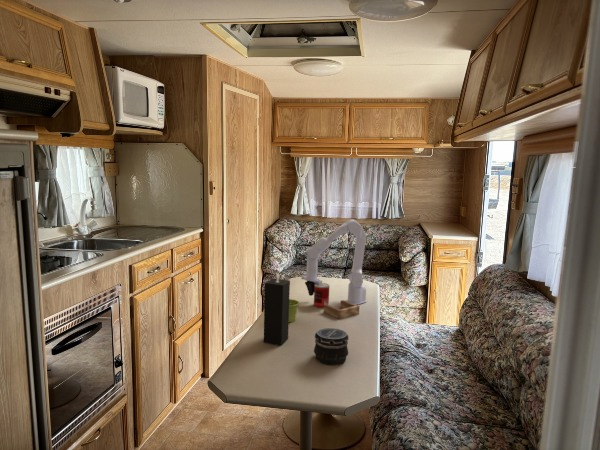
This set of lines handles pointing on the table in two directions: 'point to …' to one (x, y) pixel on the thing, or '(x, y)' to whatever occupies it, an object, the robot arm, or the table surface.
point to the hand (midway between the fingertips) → (311, 295)
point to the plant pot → (292, 309)
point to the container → (331, 346)
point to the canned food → (321, 295)
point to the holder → (342, 310)
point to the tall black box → (276, 311)
